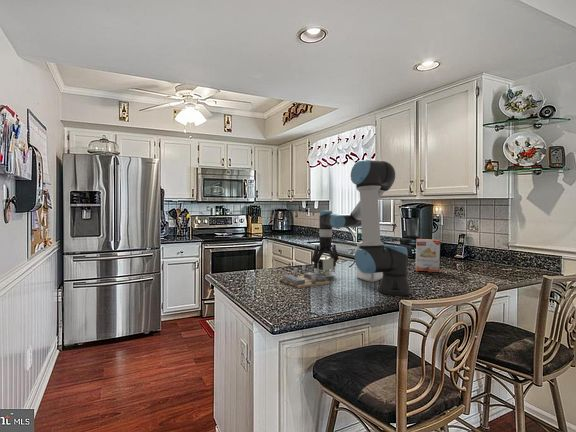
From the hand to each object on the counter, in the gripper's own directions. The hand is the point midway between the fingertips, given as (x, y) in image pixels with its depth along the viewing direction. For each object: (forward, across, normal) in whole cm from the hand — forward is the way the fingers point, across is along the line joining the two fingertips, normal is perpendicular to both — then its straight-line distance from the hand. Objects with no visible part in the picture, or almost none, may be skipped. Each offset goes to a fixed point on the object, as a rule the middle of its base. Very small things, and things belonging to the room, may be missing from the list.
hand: (325, 272), depth 205 cm
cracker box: (+2, -67, +20) cm, 70 cm away
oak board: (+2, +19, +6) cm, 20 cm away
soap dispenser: (+2, -18, +17) cm, 25 cm away
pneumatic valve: (+2, 0, 0) cm, 2 cm away
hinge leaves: (+1, +19, +6) cm, 20 cm away
